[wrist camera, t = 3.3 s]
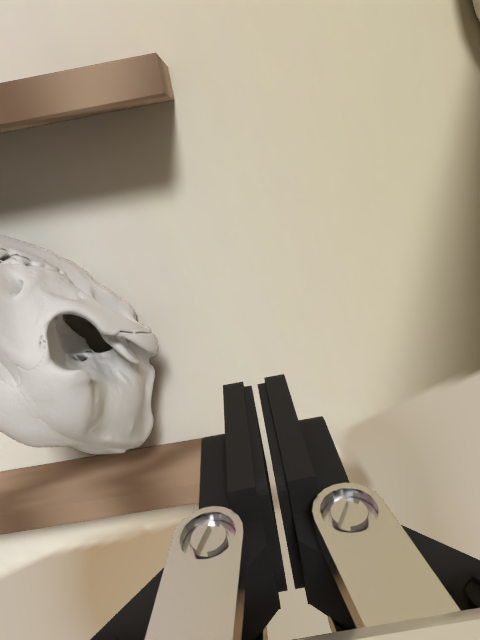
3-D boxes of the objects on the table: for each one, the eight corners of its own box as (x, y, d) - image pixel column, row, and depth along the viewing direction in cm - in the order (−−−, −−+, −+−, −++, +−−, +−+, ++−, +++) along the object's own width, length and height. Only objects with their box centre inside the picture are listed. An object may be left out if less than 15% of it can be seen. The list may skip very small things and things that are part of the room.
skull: (81, 483, 23) (-218, 493, 12) (57, 333, 27) (-188, 243, 16) (213, 424, 21) (-4, 377, 11) (167, 273, 25) (-28, 127, 14)
